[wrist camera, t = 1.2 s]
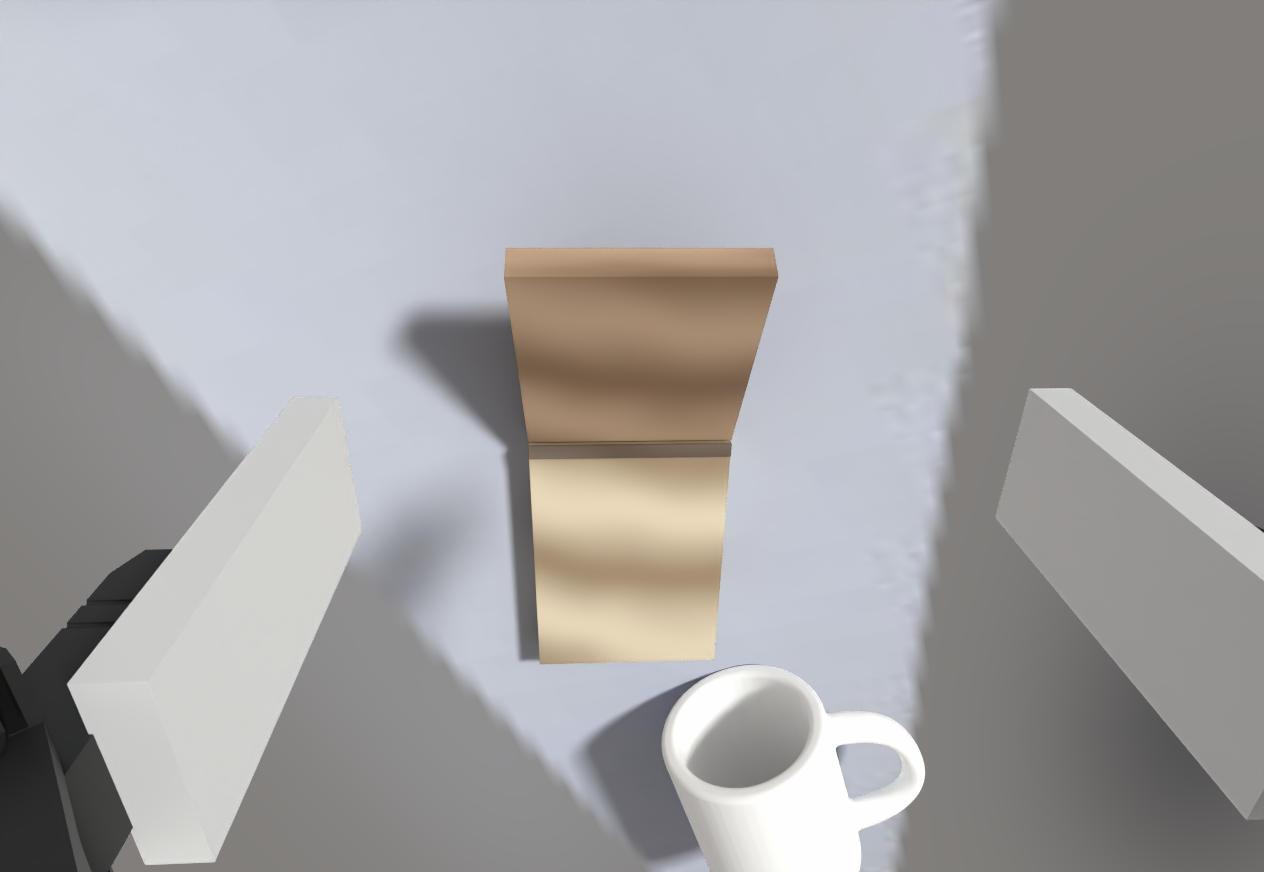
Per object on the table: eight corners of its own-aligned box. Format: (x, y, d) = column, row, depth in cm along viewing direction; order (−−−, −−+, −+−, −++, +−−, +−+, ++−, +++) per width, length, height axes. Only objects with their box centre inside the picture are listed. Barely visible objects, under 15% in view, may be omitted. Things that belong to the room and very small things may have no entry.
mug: (702, 806, 46) (723, 947, 39) (654, 685, 41) (667, 820, 34) (906, 754, 45) (966, 891, 38) (879, 625, 40) (941, 751, 33)
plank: (505, 248, 25) (504, 277, 24) (773, 248, 25) (778, 276, 25) (529, 417, 33) (528, 442, 33) (728, 415, 34) (731, 439, 33)
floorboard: (530, 430, 34) (527, 446, 33) (725, 427, 34) (731, 443, 33) (541, 644, 39) (539, 665, 38) (709, 639, 40) (714, 661, 39)
